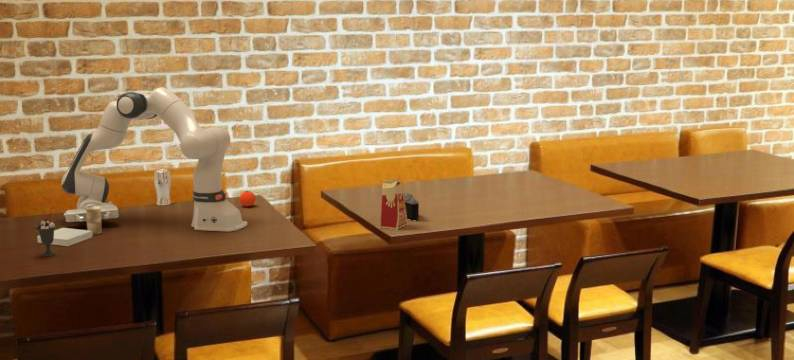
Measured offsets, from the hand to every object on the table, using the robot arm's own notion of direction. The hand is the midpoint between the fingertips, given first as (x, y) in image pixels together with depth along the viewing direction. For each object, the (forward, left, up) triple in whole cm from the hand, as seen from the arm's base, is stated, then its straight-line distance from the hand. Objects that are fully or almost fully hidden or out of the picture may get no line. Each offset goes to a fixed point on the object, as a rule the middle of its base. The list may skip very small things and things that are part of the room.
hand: (93, 218), depth 371 cm
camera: (-106, -68, -6) cm, 126 cm away
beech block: (-1, +1, -5) cm, 6 cm away
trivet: (+2, +14, -5) cm, 15 cm away
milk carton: (-105, -51, -6) cm, 117 cm away
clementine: (-33, -61, -6) cm, 69 cm away
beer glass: (+4, -51, -6) cm, 52 cm away
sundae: (-6, +32, -6) cm, 33 cm away
